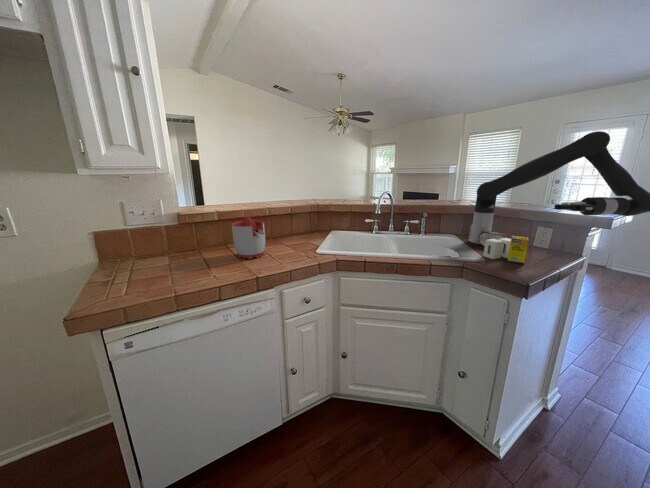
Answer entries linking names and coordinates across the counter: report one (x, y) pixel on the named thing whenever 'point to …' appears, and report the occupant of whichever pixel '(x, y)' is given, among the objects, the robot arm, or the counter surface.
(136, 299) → the counter surface
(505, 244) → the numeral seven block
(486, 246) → the numeral one block
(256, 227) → the citrus juicer
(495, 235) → the tin
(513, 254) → the supplement box
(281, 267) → the counter surface
